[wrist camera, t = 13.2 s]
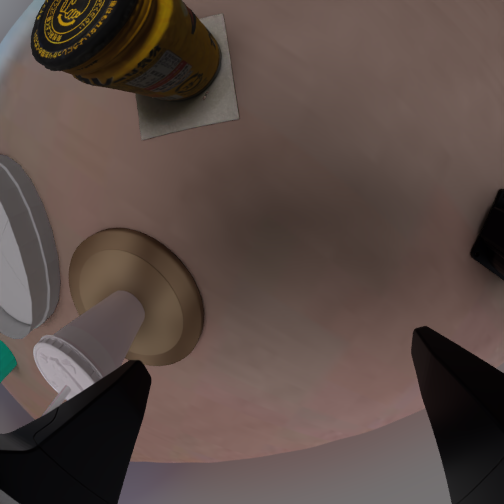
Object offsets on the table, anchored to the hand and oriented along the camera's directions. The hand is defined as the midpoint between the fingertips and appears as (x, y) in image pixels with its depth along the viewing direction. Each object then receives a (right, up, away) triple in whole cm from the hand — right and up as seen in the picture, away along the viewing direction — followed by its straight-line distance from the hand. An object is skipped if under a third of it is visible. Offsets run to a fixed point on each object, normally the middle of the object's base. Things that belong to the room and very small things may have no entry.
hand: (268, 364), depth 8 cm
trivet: (-11, -1, +16) cm, 20 cm away
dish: (-31, +5, +17) cm, 36 cm away
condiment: (-5, +16, +9) cm, 19 cm away
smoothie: (-12, -2, +15) cm, 19 cm away
